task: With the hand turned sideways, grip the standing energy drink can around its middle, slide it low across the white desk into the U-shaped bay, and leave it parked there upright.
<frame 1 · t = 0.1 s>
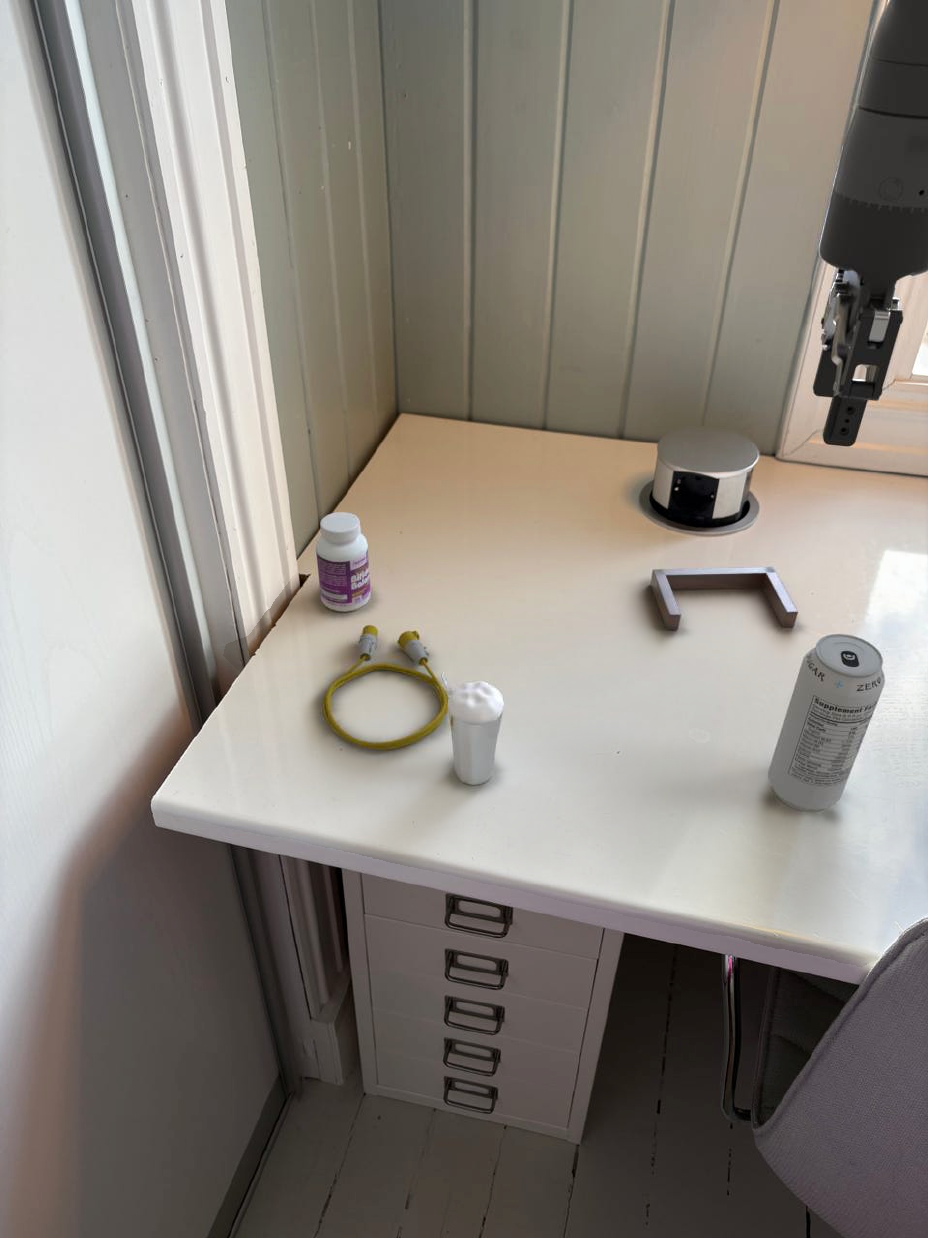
hand: (831, 418, 70), 29 cm above the table, tool pointing down, fingers open, 8 cm apart
bay: (725, 617, 98), on the table
extension cord: (391, 695, 88), on the table
energy drink can: (801, 790, 79), on the table
pill bottle: (346, 599, 100), on the table
milkshake: (469, 771, 80), on the table
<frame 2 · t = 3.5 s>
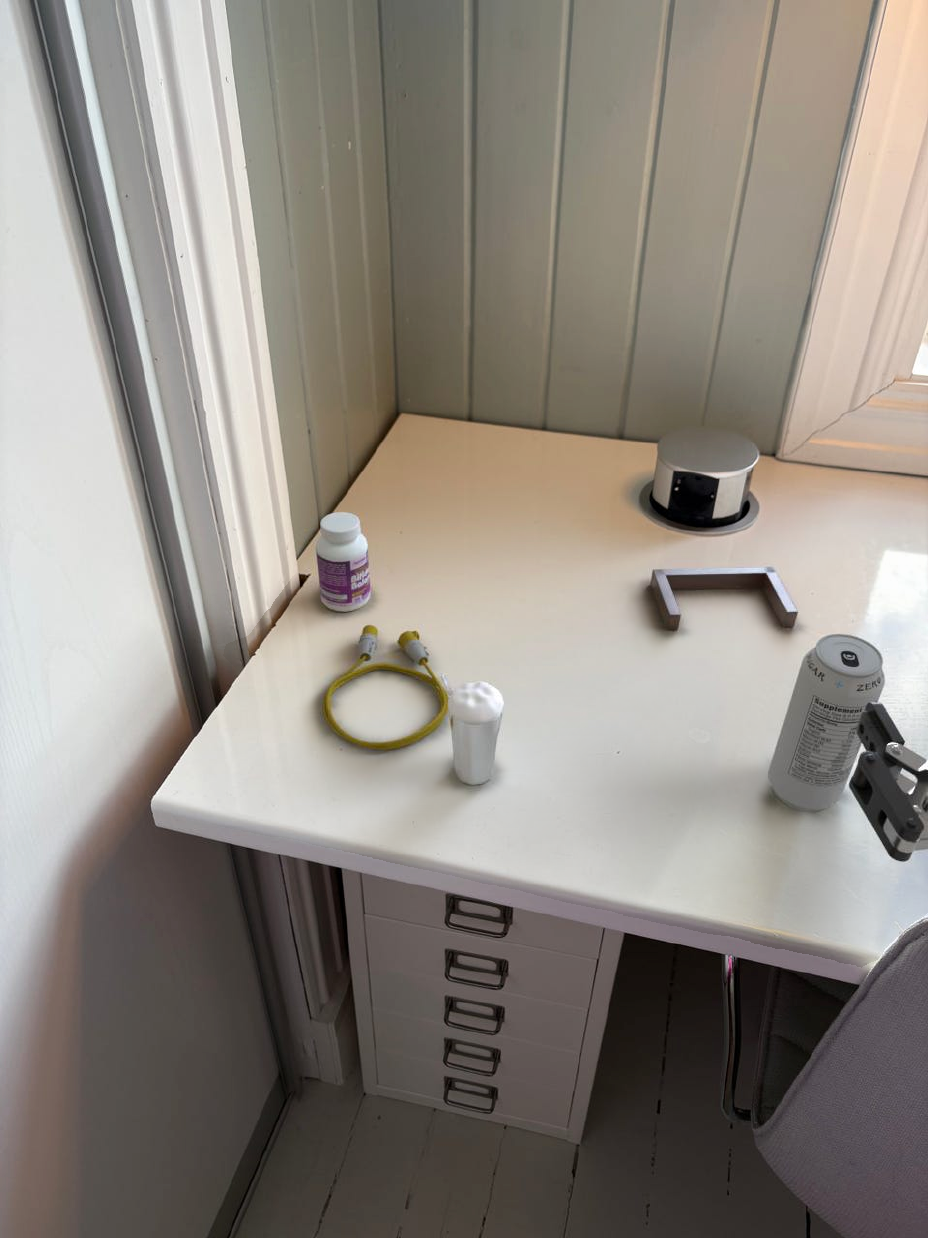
nothing on the table moved.
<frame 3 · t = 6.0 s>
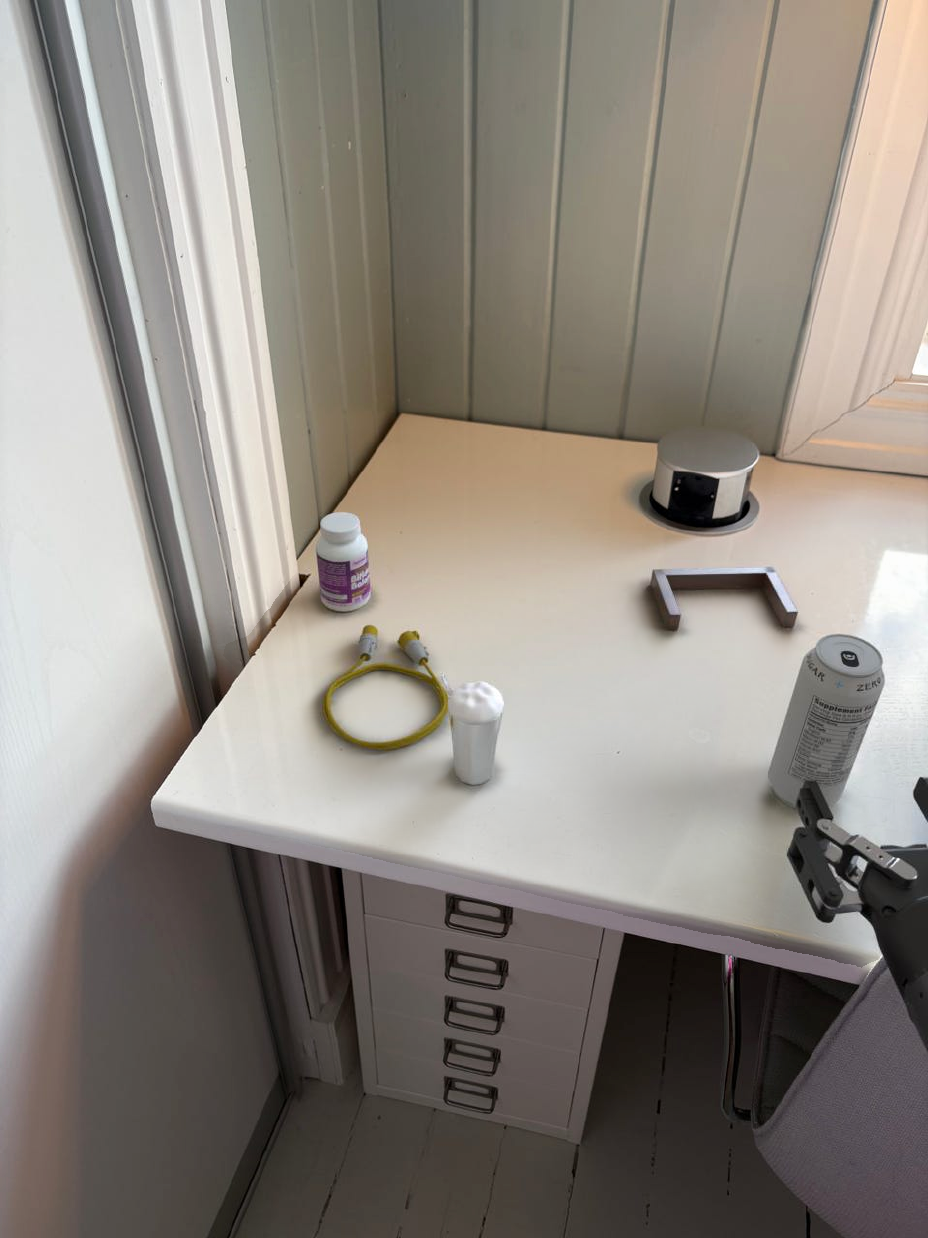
hand: (863, 786, 68), 8 cm above the table, tool horizontal, fingers open, 8 cm apart
nothing on the table moved.
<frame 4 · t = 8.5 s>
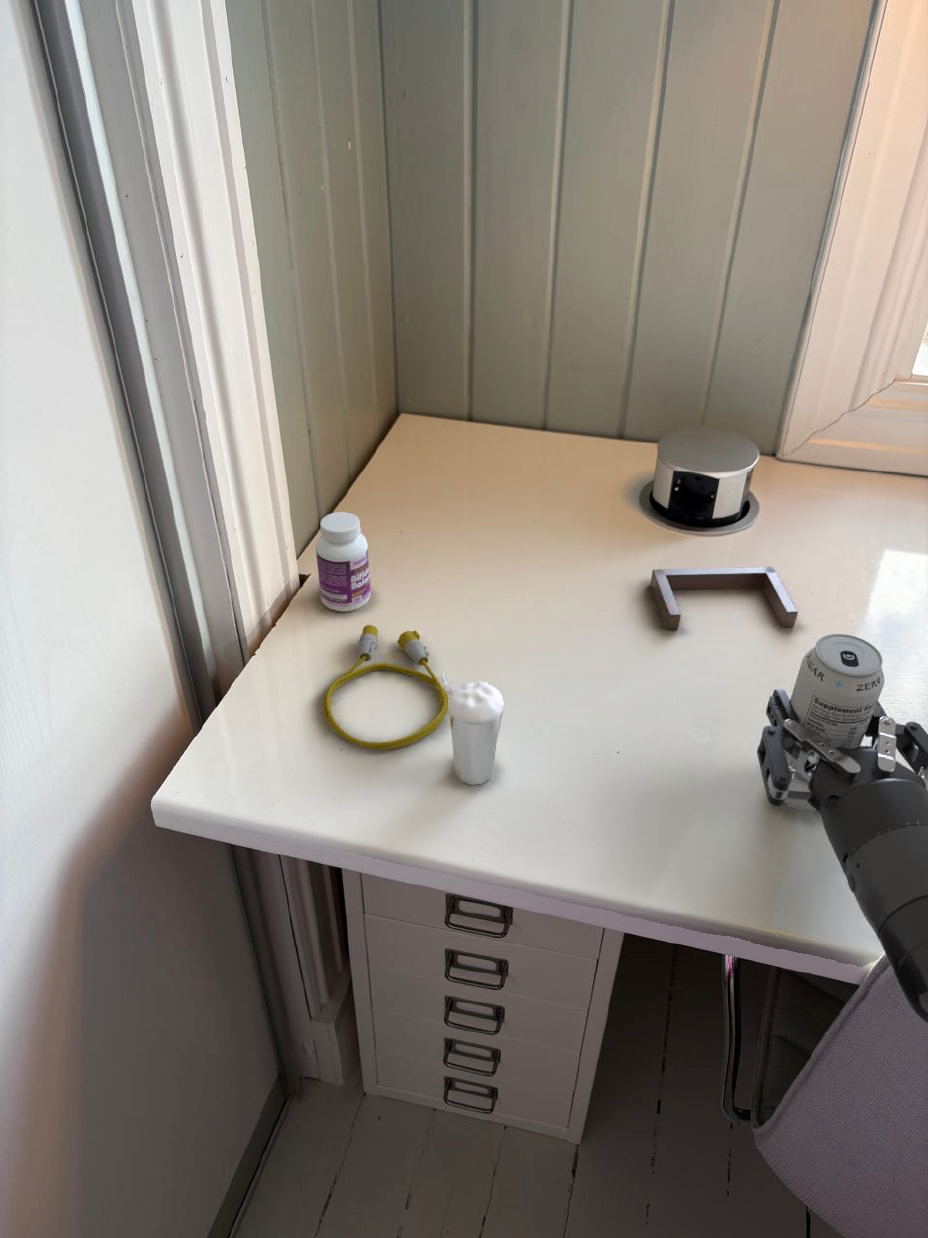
hand: (816, 696, 75), 8 cm above the table, tool horizontal, fingers closed on energy drink can, 6 cm apart
energy drink can: (801, 791, 79), on the table, touching gripper
everything else where it was.
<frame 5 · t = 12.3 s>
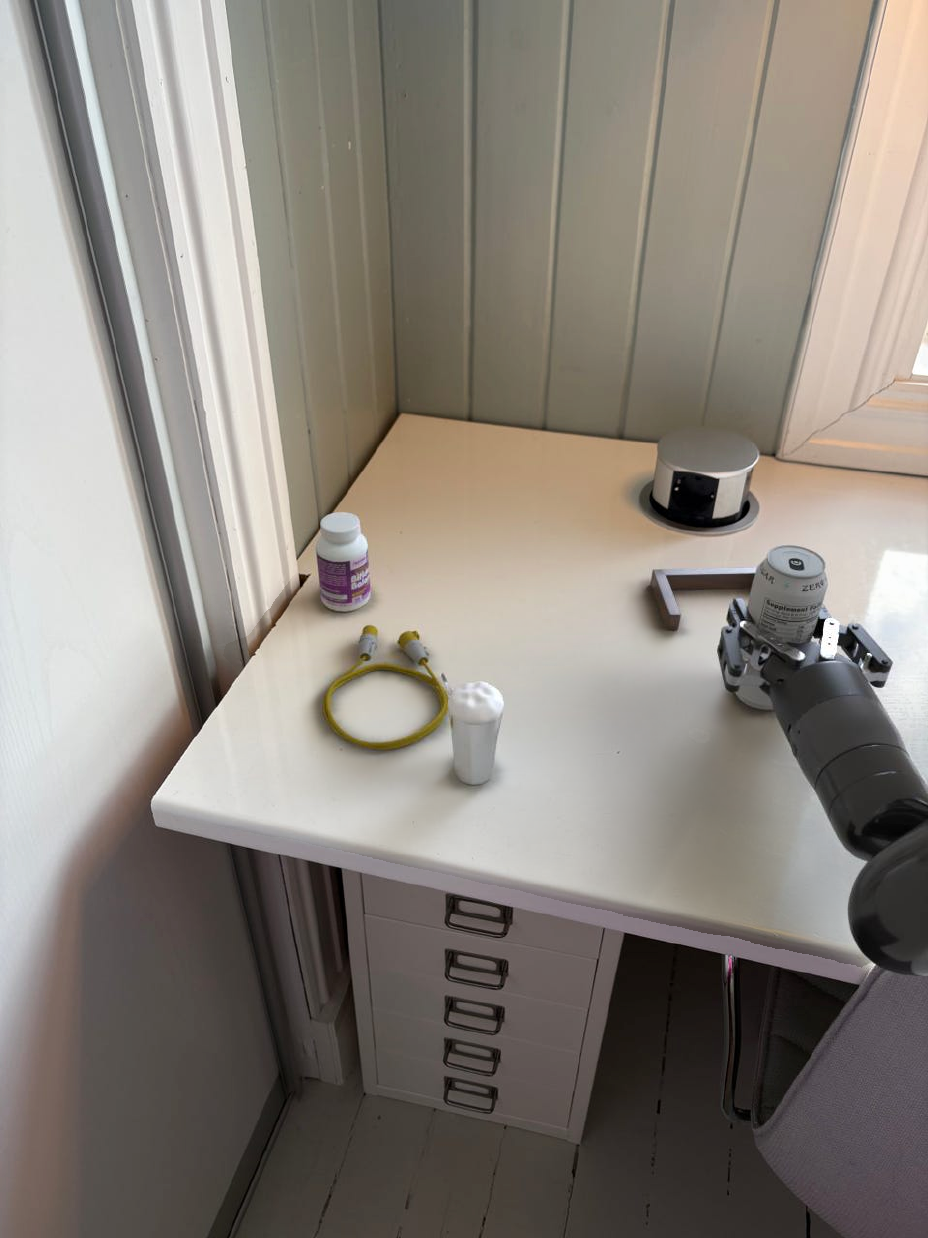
hand: (770, 605, 85), 9 cm above the table, tool horizontal, fingers closed on energy drink can, 6 cm apart
energy drink can: (760, 693, 88), on the table, touching gripper
everything else where it was.
when the fingers open (8 cm above the table, at t = 16.3 s): energy drink can stays where it is, on the table.
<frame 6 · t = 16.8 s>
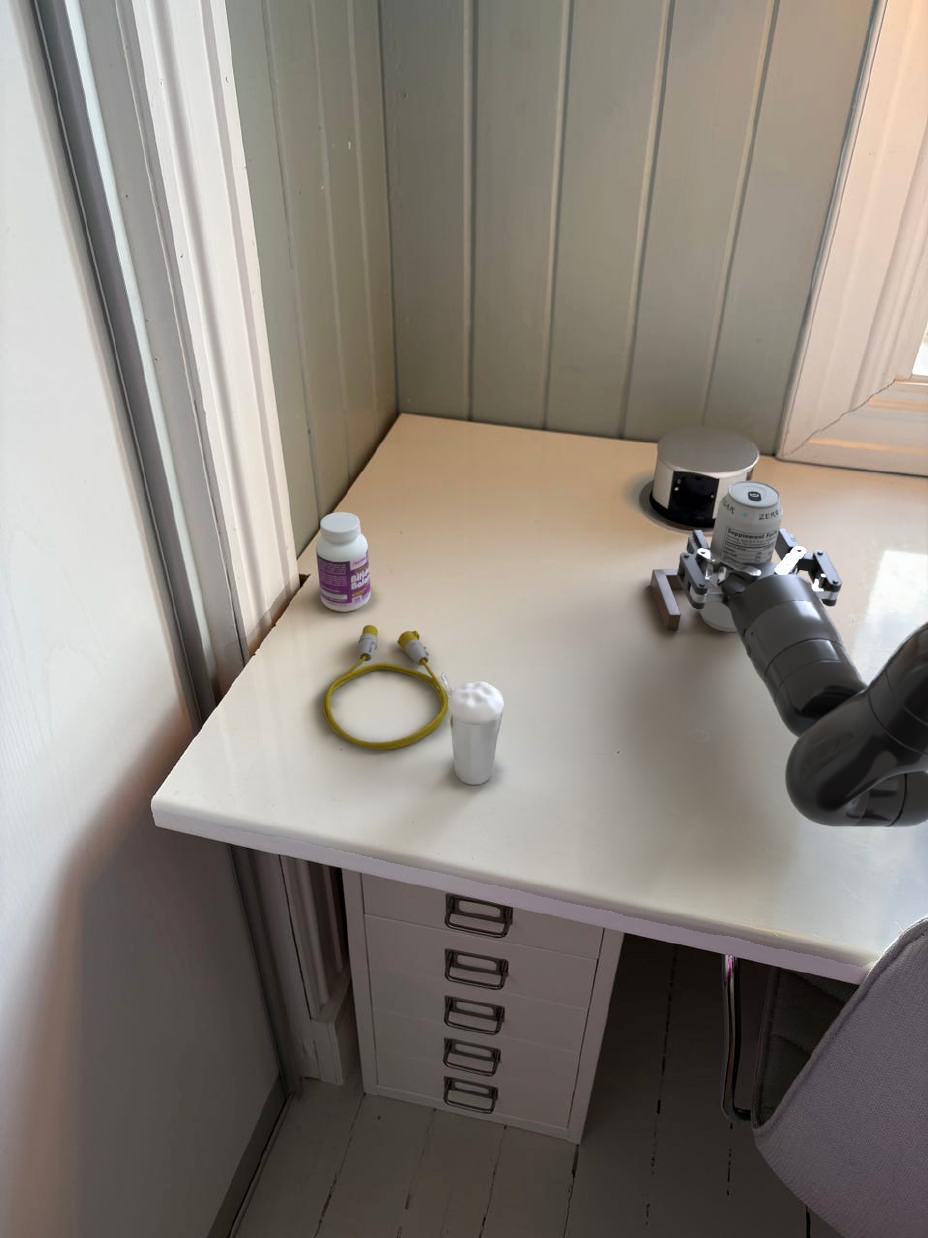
hand: (736, 536, 94), 9 cm above the table, tool horizontal, fingers open, 8 cm apart
energy drink can: (725, 618, 98), on the table
everything else where it was.
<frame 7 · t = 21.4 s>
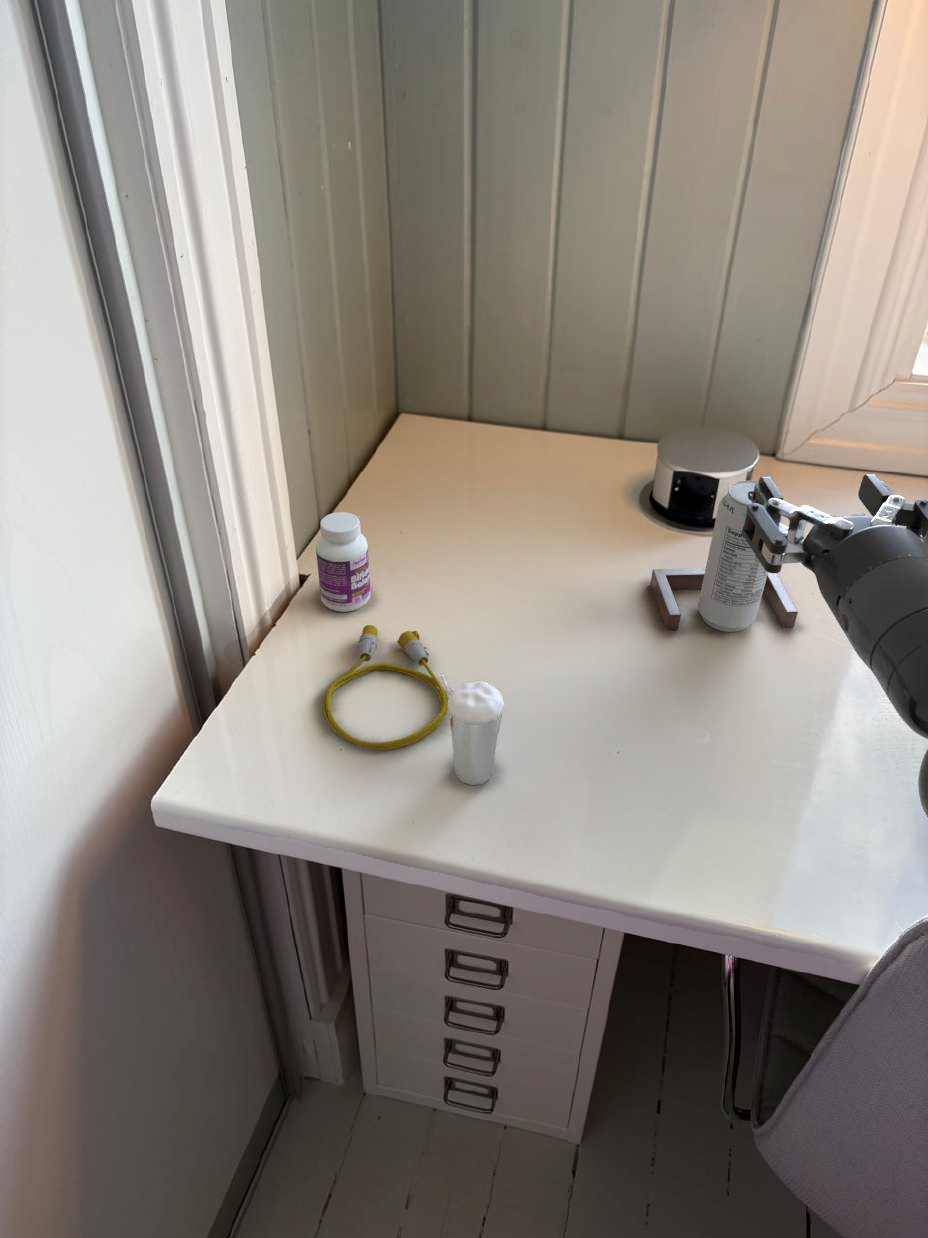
hand: (813, 485, 75), 22 cm above the table, tool horizontal, fingers open, 8 cm apart
nothing on the table moved.
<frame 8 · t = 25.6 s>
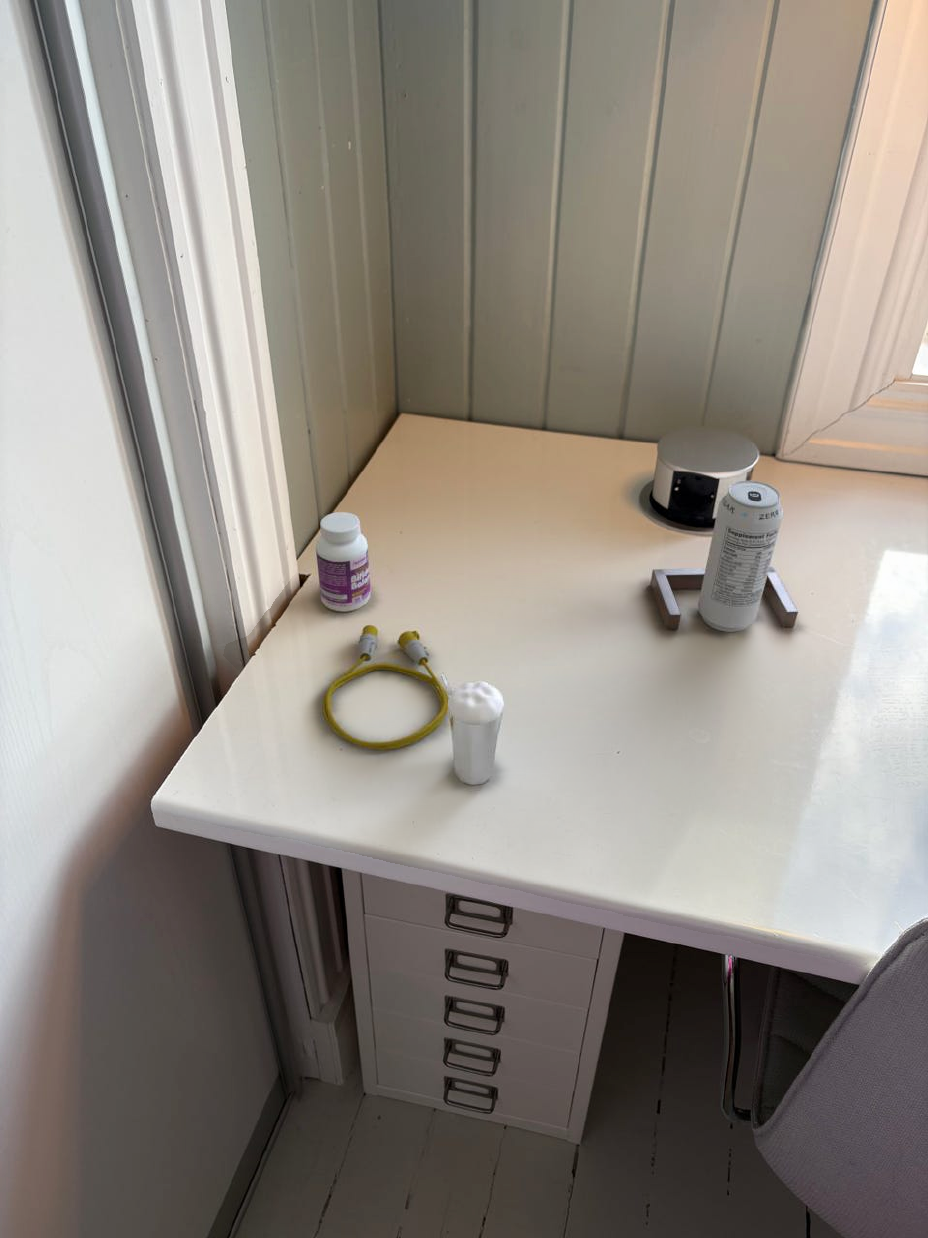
nothing on the table moved.
at the end: energy drink can 0.1 cm off-centre on the bay, point 0.0 cm above the bay's base; energy drink can tilted 0°; energy drink can moved 23.9 cm from its start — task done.
